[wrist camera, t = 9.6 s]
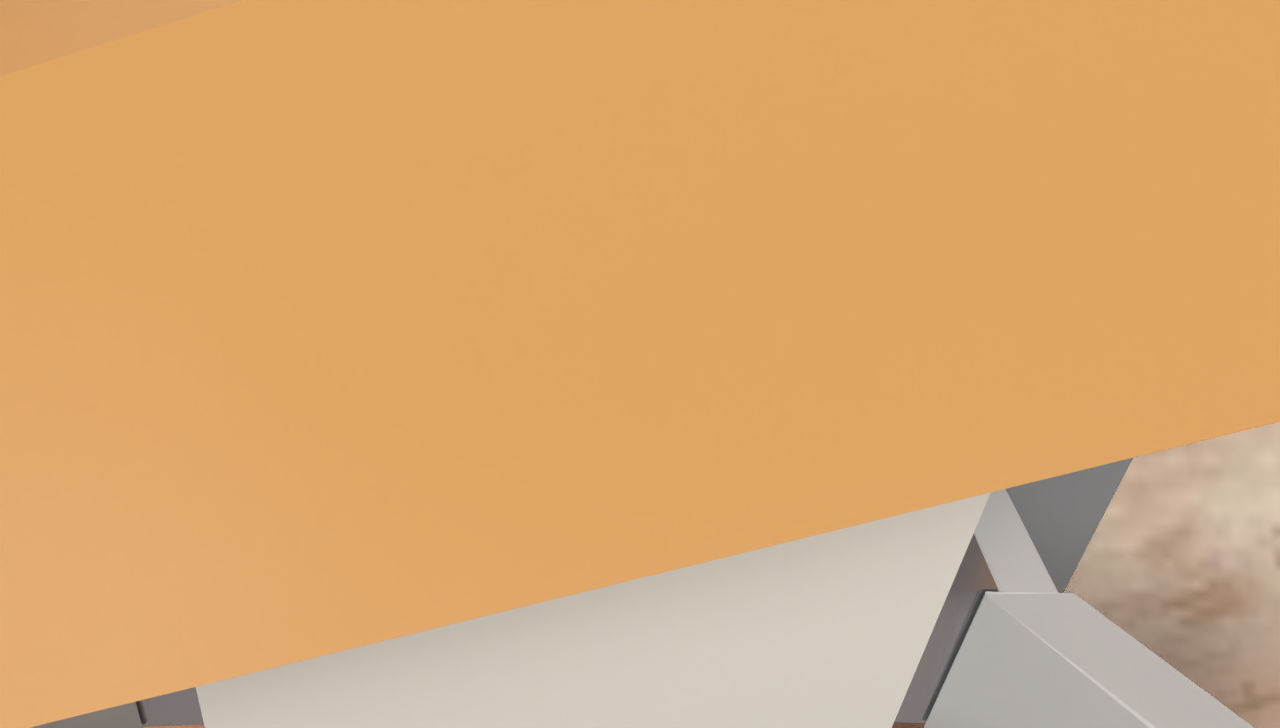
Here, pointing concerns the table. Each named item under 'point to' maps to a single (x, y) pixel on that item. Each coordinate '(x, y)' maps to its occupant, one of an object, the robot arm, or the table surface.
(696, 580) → the cream white box
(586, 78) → the t key
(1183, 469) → the table surface
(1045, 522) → the mat
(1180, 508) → the table surface
